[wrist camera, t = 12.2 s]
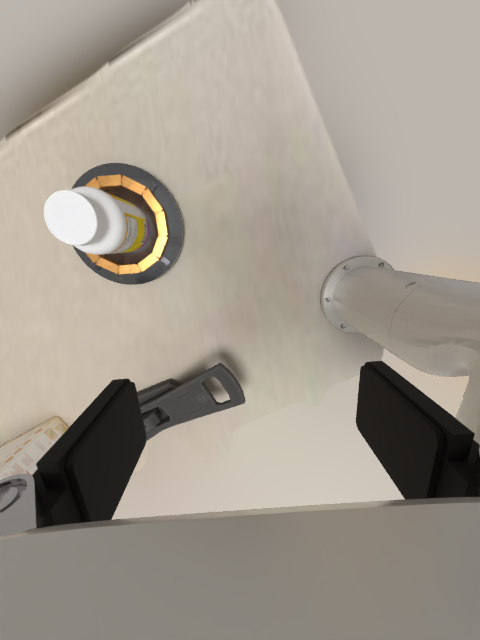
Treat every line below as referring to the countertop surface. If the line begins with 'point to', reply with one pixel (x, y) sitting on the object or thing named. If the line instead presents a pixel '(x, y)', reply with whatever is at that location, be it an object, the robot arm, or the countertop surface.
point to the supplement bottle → (96, 221)
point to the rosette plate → (160, 216)
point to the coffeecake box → (30, 448)
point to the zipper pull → (186, 400)
